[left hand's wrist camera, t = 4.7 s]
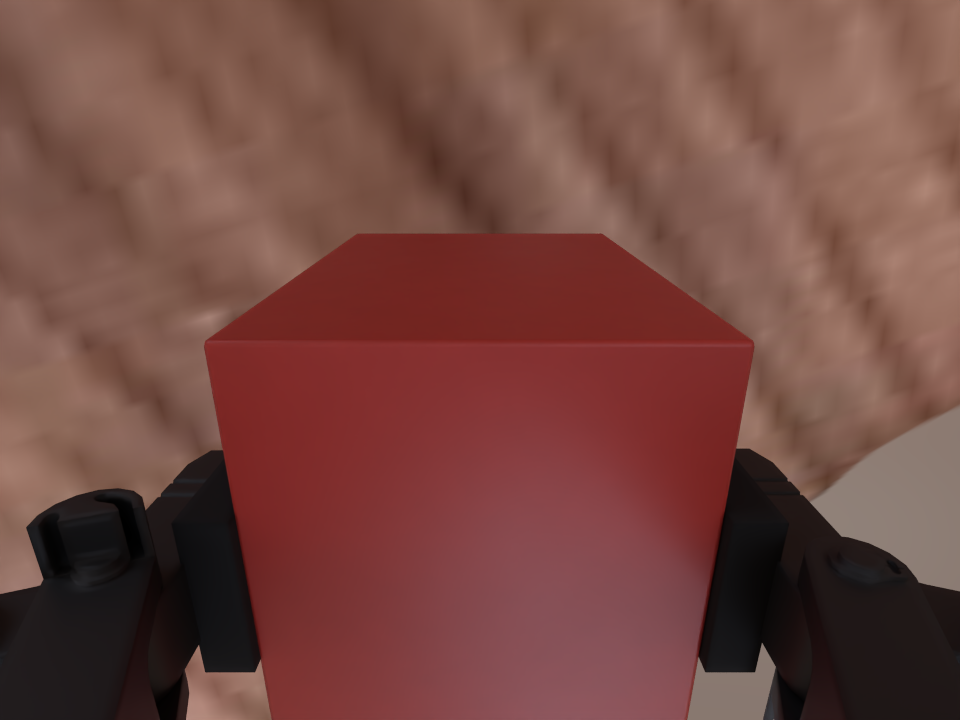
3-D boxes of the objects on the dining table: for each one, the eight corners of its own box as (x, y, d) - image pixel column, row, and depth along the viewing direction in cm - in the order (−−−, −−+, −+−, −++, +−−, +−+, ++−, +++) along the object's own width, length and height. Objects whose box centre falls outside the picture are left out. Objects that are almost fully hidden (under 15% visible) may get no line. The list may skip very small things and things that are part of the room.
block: (374, 476, 18) (279, 772, 10) (355, 233, 16) (200, 341, 7) (585, 476, 18) (679, 772, 10) (604, 233, 16) (758, 341, 7)
